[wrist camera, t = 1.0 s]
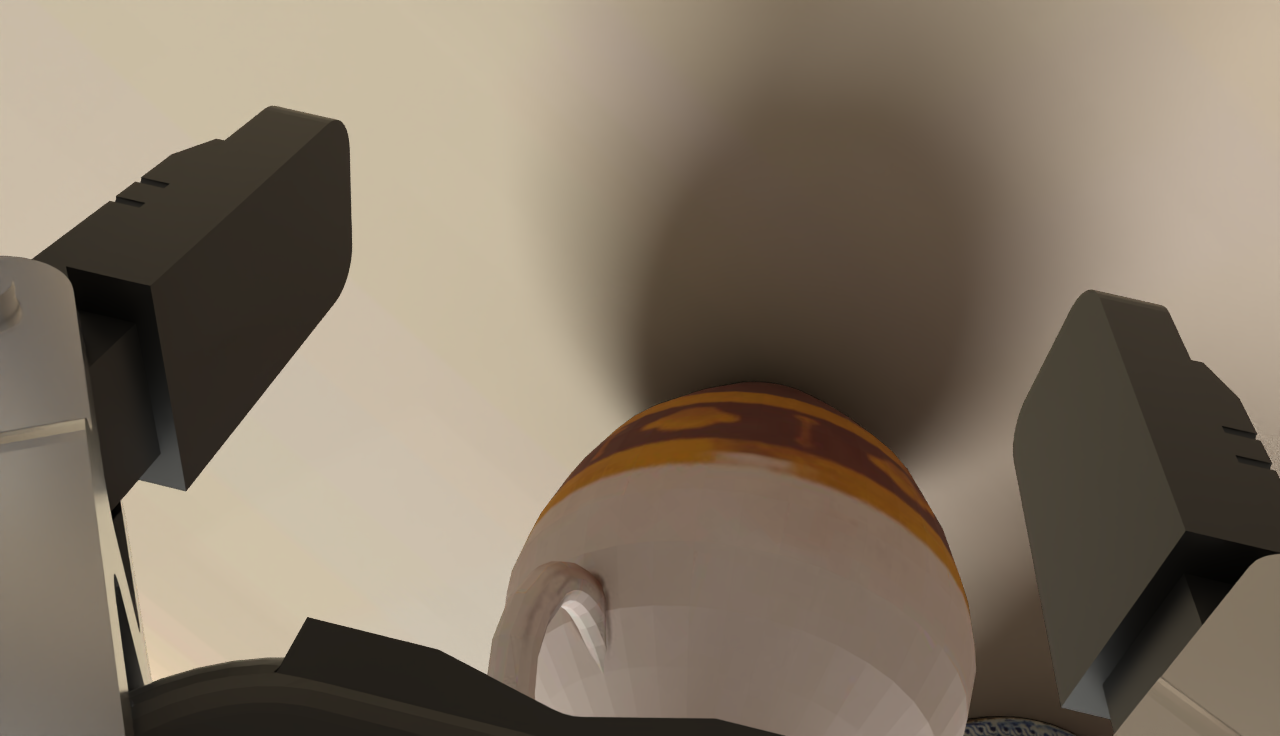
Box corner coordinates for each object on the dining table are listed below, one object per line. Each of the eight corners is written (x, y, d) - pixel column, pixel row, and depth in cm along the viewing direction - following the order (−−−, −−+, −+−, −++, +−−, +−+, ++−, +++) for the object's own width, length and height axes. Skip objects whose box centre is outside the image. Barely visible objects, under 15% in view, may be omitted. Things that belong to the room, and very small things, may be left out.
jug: (480, 354, 47) (81, 1129, 24) (816, 187, 37) (672, 1184, 15) (711, 601, 55) (573, 1343, 33) (1031, 514, 46) (1142, 1462, 24)
